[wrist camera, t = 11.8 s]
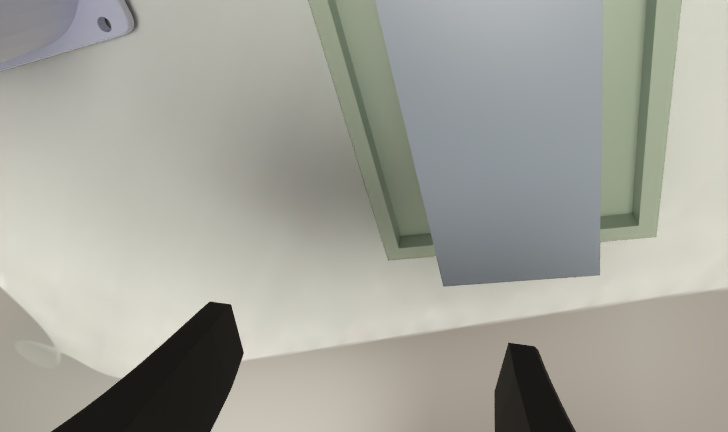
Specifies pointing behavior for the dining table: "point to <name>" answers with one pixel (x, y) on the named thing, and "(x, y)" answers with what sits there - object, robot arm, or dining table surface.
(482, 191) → the grey oblong block
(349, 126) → the sage tray
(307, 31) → the dining table surface
